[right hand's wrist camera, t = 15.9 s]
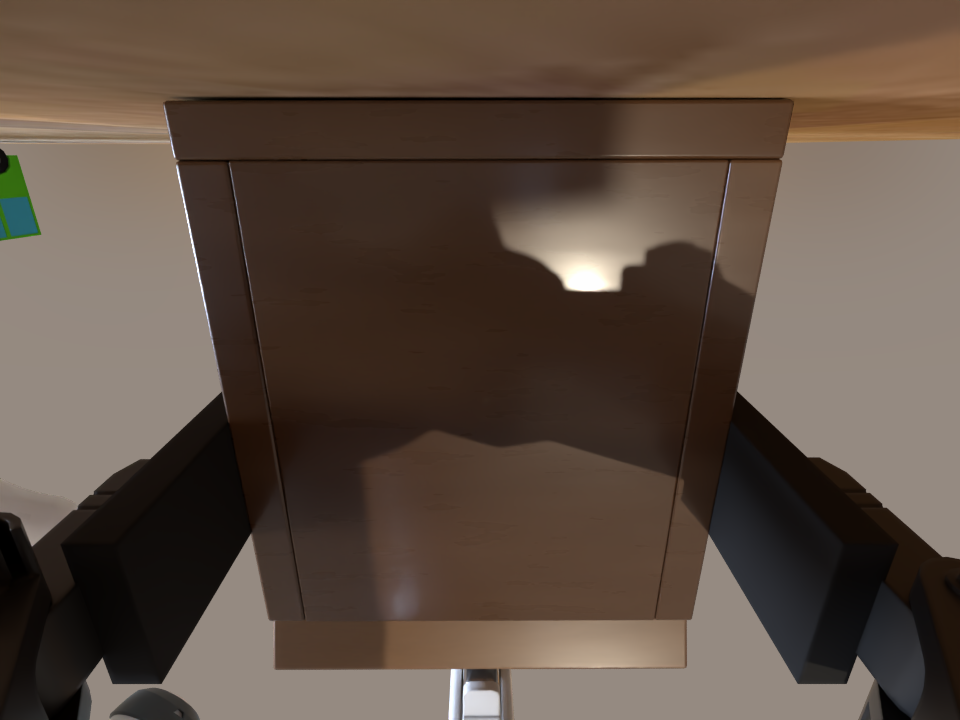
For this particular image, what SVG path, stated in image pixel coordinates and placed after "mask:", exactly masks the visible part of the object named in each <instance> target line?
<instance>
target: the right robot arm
mask: <svg viewBox="0 0 960 720" xmlns="http://www.w3.org/2000/svg"><path fill="white" fill-rule="evenodd" d="M250 534H251V531H250V526H249V521H248V516H247V511H246V506H245V502H244V497H243V492H242V487H241V482H240V477H239V472H238V467H237V462H236V457H235V453H234V448H233V443H232V438H231V433H230V428H229V423H228V418H227V413H226V409H225V404H224V399H223V394H222V392H221V393H220V394H219V395H218V396H217V397H216V398H215V399H214V400H212V401H211V402H210V403H209V404H208V405H207V406H206V407H205V408H204V409H203V410H202V411H201V412H200V413H199V414H198V415H197V416H196V417H194V418H193V419H192V420H191V421H190V422H189V423H188V424H187V425H186V426H185V427H184V428H183V429H182V430H181V431H180V432H179V433H178V434H176V435H175V436H174V437H173V438H172V439H171V440H170V441H169V442H168V443H167V444H166V445H165V446H164V447H163V448H162V449H161V450H160V451H158V452H157V453H156V454H155V455H154V456H153V457H152V458H151V459H140V460H138V461H136V462H135V463H133V464H131V465H129V466H127V467H126V468H124V469H122V470H120V471H118V472H116V473H115V474H113V475H112V476H111V477H110V478H109V479H107V480H106V481H105V482H104V483H103V484H102V485H101V486H100V487H98V488H97V489H96V490H95V491H94V495H89V496H88V497H87V498H86V499H85V500H84V501H83V502H82V503H80V504H79V505H78V508H77V510H73V511H71V512H70V513H69V514H68V515H67V516H66V517H65V518H64V519H62V520H61V521H60V522H59V523H58V524H57V525H56V526H55V527H53V528H52V529H51V530H50V531H49V532H48V533H47V534H46V535H44V536H43V537H42V538H41V539H40V540H39V541H38V542H37V543H35V544H34V545H33V546H31V543H30V541H29V538H28V536H27V533H26V531H25V528H24V526H23V523H22V521H21V518H19V517H18V516H16V515H14V514H12V513H7V512H0V720H89V719H90V711H91V703H92V701H91V695H90V690H89V687H88V685H87V682H86V679H87V678H88V676H89V675H90V673H91V672H92V671H93V669H94V668H95V667H96V665H97V664H98V663H99V661H100V660H101V659H102V657H103V660H104V662H105V665H106V668H107V670H108V673H109V675H110V678H111V681H112V683H113V684H162V682H163V680H164V679H165V677H166V675H167V674H168V672H169V670H170V669H171V667H172V665H173V664H174V662H175V660H176V659H177V657H178V655H179V654H180V652H181V650H182V648H183V647H184V645H185V643H186V642H187V640H188V638H189V637H190V635H191V633H192V632H193V630H194V628H195V626H196V625H197V623H198V621H199V620H200V618H201V616H202V615H203V613H204V611H205V610H206V608H207V606H208V605H209V603H210V601H211V600H212V598H213V596H214V595H215V593H216V591H217V589H218V588H219V586H220V584H221V583H222V581H223V579H224V578H225V576H226V574H227V573H228V571H229V569H230V568H231V566H232V564H233V562H234V561H235V559H236V557H237V556H238V554H239V552H240V551H241V549H242V547H243V546H244V544H245V542H246V541H247V539H248V537H249V536H250ZM709 535H710V537H711V538H712V540H713V542H714V543H715V545H716V547H717V548H718V550H719V552H720V553H721V555H722V557H723V559H724V560H725V562H726V564H727V565H728V567H729V569H730V570H731V572H732V574H733V575H734V577H735V579H736V580H737V582H738V584H739V585H740V587H741V589H742V590H743V592H744V594H745V596H746V597H747V599H748V601H749V602H750V604H751V606H752V607H753V609H754V611H755V612H756V614H757V616H758V617H759V619H760V621H761V623H762V624H763V626H764V628H765V629H766V631H767V633H768V634H769V636H770V638H771V639H772V641H773V643H774V644H775V646H776V648H777V649H778V651H779V653H780V654H781V656H782V658H783V660H784V661H785V663H786V665H787V666H788V668H789V670H790V671H791V673H792V675H793V676H794V678H795V680H796V681H797V683H798V684H847V681H848V679H849V676H850V673H851V671H852V668H853V665H854V663H855V660H856V657H857V655H858V657H859V658H860V659H861V661H862V662H863V663H864V665H865V666H866V667H867V669H868V670H869V671H870V673H871V674H872V675H873V677H874V678H875V680H874V682H873V685H872V687H871V690H870V692H869V695H868V697H867V700H866V702H865V705H864V707H863V710H862V712H861V715H860V717H859V720H960V559H955V558H950V557H942V556H941V555H939V554H938V553H937V552H936V551H935V550H934V549H933V548H931V547H930V546H929V545H928V544H927V543H926V542H925V541H924V540H922V539H921V538H920V537H919V536H918V535H917V534H916V533H915V532H913V531H912V530H911V529H910V528H909V527H908V526H907V525H906V524H904V523H903V522H902V521H901V520H900V519H899V518H898V517H896V516H895V515H894V514H893V513H892V512H891V511H890V510H889V509H887V508H883V506H882V503H881V502H880V501H878V500H877V499H876V498H875V497H874V496H873V495H872V494H870V493H866V489H865V488H864V487H863V486H861V485H860V484H859V483H858V482H857V481H856V480H855V479H853V478H852V477H851V476H850V475H849V474H848V473H847V472H845V471H843V470H841V469H840V468H838V467H836V466H834V465H832V464H830V463H829V462H827V461H825V460H823V459H821V458H807V457H806V456H805V455H804V454H803V453H802V452H801V451H800V450H799V449H798V448H797V447H796V446H794V445H793V444H792V443H791V442H790V441H789V440H788V439H787V438H786V437H785V436H784V435H783V434H782V433H781V432H780V431H779V430H778V429H776V428H775V427H774V426H773V425H772V424H771V423H770V422H769V421H768V420H767V419H766V418H765V417H764V416H763V415H762V414H761V413H760V412H758V411H757V410H756V409H755V408H754V407H753V406H752V405H751V404H750V403H749V402H748V401H747V400H746V399H745V398H744V397H743V396H742V395H740V394H739V393H738V392H737V393H736V398H735V403H734V408H733V413H732V418H731V423H730V428H729V433H728V438H727V443H726V448H725V453H724V458H723V463H722V468H721V473H720V478H719V483H718V488H717V493H716V498H715V503H714V508H713V513H712V518H711V523H710V528H709Z"/></svg>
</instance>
